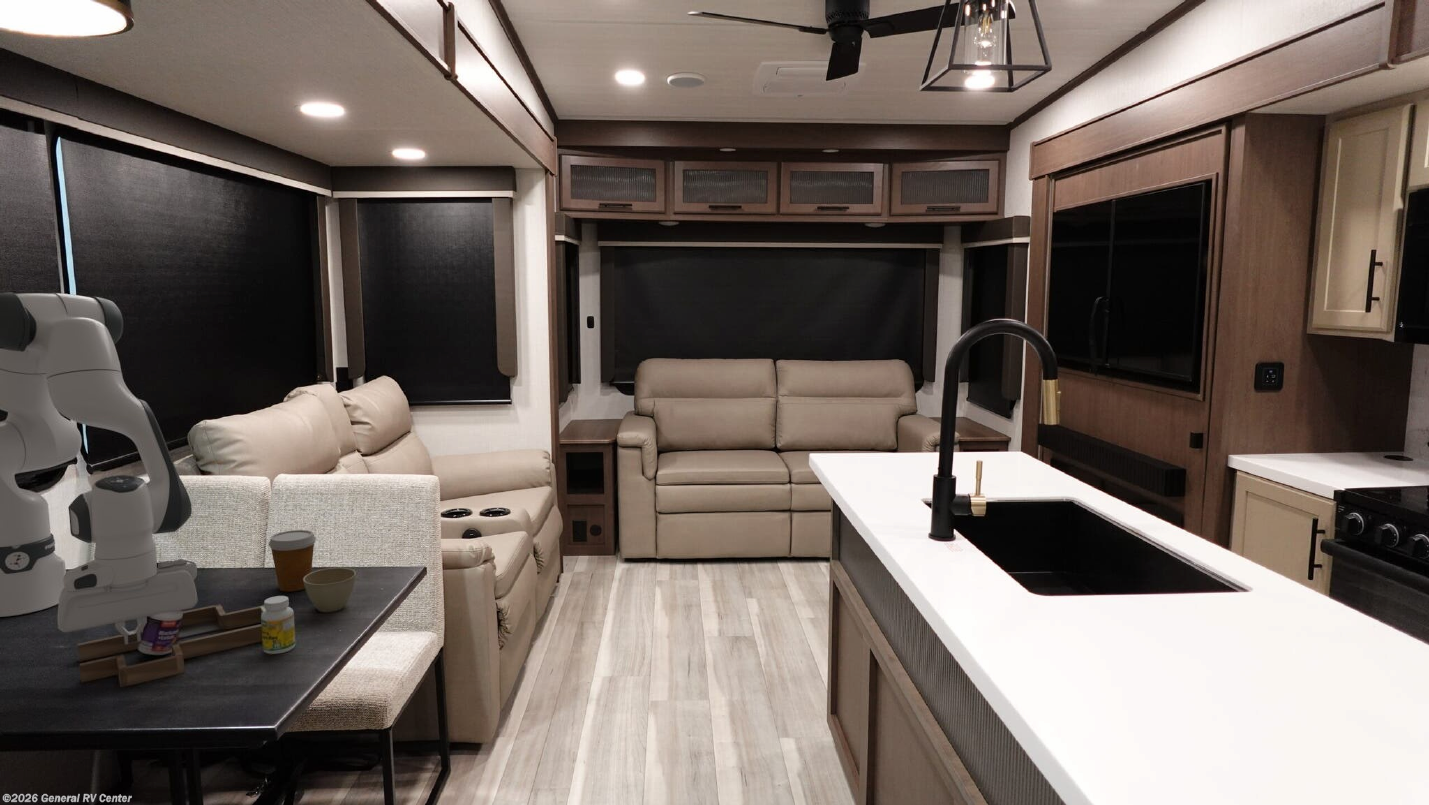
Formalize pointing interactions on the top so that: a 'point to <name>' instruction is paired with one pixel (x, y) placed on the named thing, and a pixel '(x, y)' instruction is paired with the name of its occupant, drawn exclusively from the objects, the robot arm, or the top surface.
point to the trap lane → (189, 626)
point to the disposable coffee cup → (292, 557)
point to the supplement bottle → (277, 625)
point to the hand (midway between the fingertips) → (132, 642)
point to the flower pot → (330, 588)
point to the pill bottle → (160, 633)
